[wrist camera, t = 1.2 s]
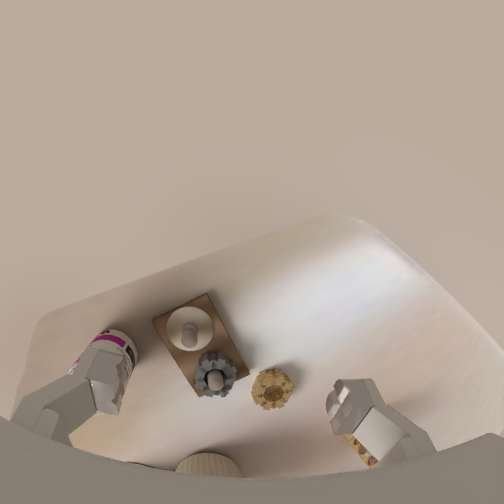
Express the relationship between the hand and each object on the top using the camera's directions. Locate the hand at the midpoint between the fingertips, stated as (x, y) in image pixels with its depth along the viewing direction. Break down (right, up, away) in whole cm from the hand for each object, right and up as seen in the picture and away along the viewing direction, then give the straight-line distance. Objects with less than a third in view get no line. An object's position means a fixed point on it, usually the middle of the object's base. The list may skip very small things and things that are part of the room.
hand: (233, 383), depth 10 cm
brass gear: (+4, -20, +41) cm, 46 cm away
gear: (-6, -15, +38) cm, 41 cm away
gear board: (-8, -11, +39) cm, 41 cm away
